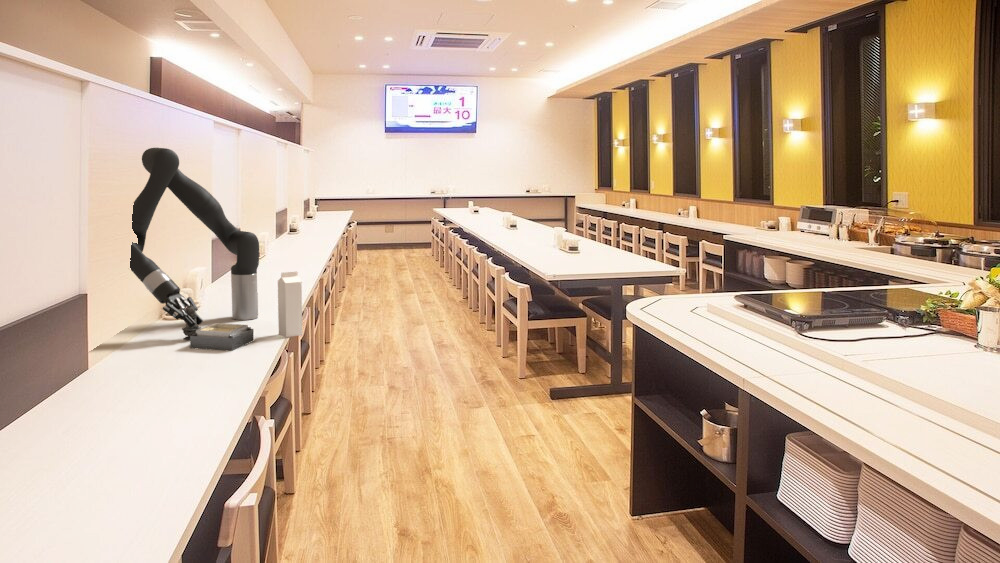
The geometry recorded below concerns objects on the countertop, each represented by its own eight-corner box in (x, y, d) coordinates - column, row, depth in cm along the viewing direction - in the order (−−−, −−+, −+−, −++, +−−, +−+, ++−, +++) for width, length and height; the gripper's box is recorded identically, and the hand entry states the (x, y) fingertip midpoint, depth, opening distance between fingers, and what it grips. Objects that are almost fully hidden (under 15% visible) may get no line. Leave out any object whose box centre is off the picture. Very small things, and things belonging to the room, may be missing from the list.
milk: (302, 335, 238) (302, 272, 234) (286, 337, 233) (285, 273, 230) (294, 332, 242) (293, 270, 239) (278, 334, 238) (277, 271, 235)
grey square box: (214, 338, 229) (213, 322, 229) (253, 340, 228) (253, 324, 227) (190, 348, 216) (189, 331, 215) (232, 350, 214) (231, 333, 213)
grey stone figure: (186, 336, 230) (184, 301, 228) (204, 336, 230) (203, 301, 229) (179, 340, 224) (178, 304, 222) (198, 340, 225) (196, 305, 223)
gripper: (155, 281, 218) (192, 321, 219) (181, 275, 232) (216, 312, 233) (140, 297, 220) (177, 336, 220) (167, 290, 234) (201, 327, 234)
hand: (197, 324), depth 226 cm, fingers closed on grey stone figure, 3 cm apart
